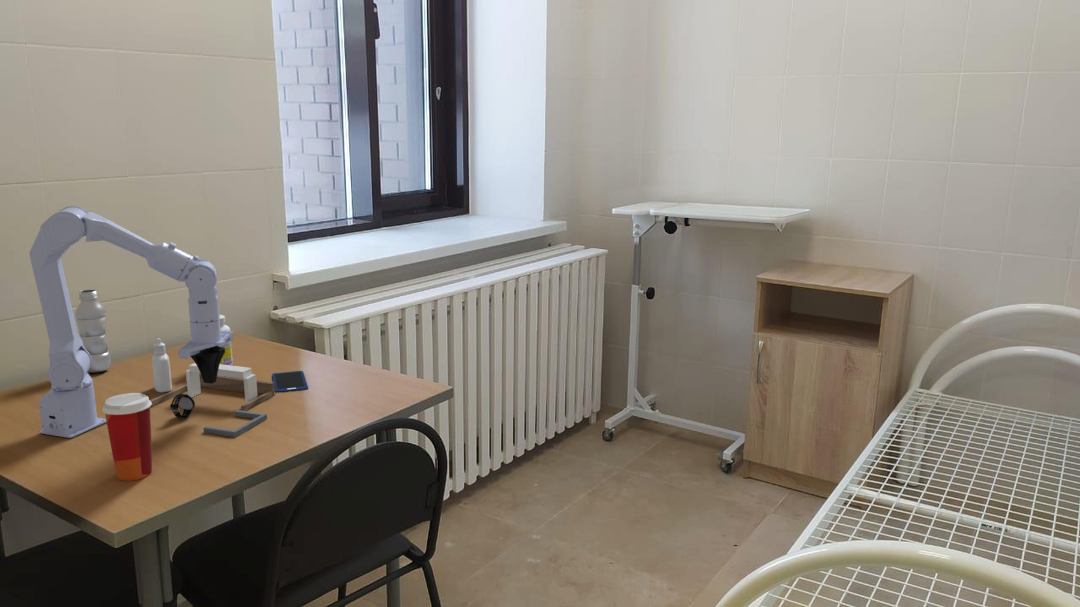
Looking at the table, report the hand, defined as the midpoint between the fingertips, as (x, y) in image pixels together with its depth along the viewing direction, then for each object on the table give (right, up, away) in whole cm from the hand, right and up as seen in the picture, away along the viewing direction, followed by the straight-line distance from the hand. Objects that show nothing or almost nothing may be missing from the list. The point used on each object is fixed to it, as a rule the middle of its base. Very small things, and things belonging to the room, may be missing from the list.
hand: (209, 382), depth 172 cm
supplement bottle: (-11, +1, +32) cm, 34 cm away
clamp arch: (-1, -5, +10) cm, 11 cm away
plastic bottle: (-38, 0, +27) cm, 47 cm away
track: (-4, -6, +6) cm, 9 cm away
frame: (+7, -8, -4) cm, 12 cm away
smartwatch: (-6, -7, -1) cm, 9 cm away
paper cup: (-2, -14, -27) cm, 31 cm away
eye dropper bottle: (-17, -3, +16) cm, 24 cm away
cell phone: (+10, -3, +22) cm, 24 cm away
